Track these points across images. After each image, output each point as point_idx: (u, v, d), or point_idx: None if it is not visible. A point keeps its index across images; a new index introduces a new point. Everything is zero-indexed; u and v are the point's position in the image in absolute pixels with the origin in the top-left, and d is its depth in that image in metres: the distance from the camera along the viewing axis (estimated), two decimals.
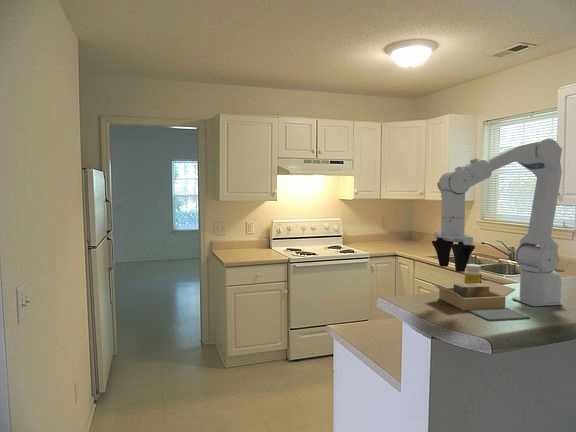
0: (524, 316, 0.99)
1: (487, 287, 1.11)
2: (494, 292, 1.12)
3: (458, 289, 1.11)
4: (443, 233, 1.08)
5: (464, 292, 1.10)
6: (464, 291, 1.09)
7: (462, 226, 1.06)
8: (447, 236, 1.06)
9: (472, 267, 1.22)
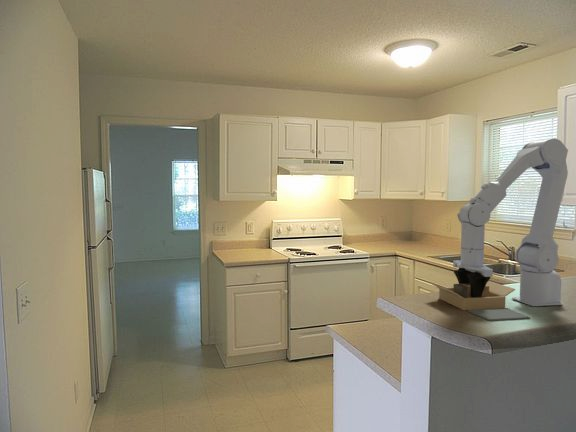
0: (524, 316, 0.99)
1: (487, 287, 1.11)
2: (494, 292, 1.12)
3: (458, 289, 1.11)
4: (463, 263, 1.11)
5: (464, 292, 1.10)
6: (464, 291, 1.09)
7: (482, 257, 1.09)
8: (467, 267, 1.09)
9: None
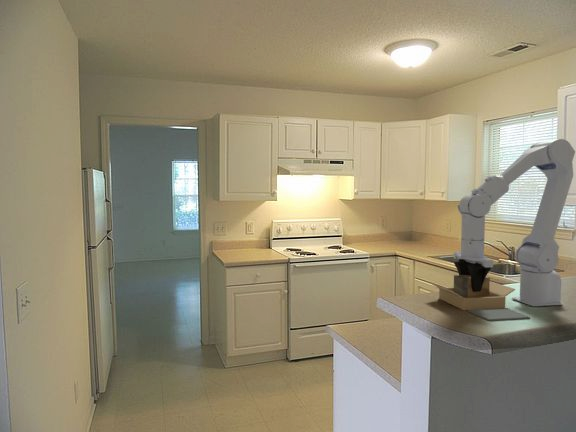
0: (524, 316, 0.99)
1: (487, 278, 1.11)
2: (494, 292, 1.12)
3: (458, 281, 1.11)
4: (463, 255, 1.11)
5: (464, 283, 1.09)
6: (464, 282, 1.09)
7: (482, 248, 1.09)
8: (467, 258, 1.09)
9: None
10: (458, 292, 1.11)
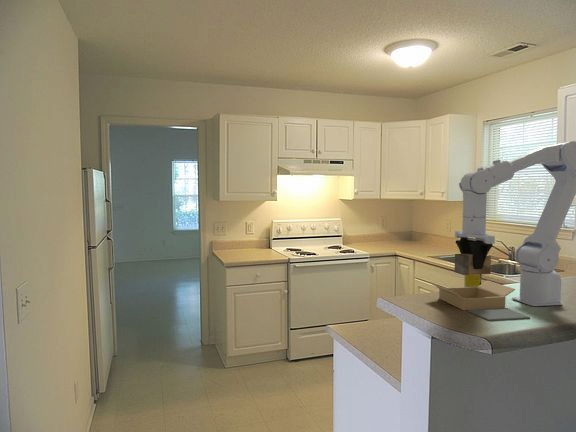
0: (524, 316, 0.99)
1: (489, 256, 1.10)
2: (494, 292, 1.12)
3: (459, 259, 1.10)
4: (464, 232, 1.10)
5: (465, 261, 1.09)
6: (465, 260, 1.09)
7: (483, 225, 1.08)
8: (469, 235, 1.09)
9: None
10: (459, 270, 1.10)
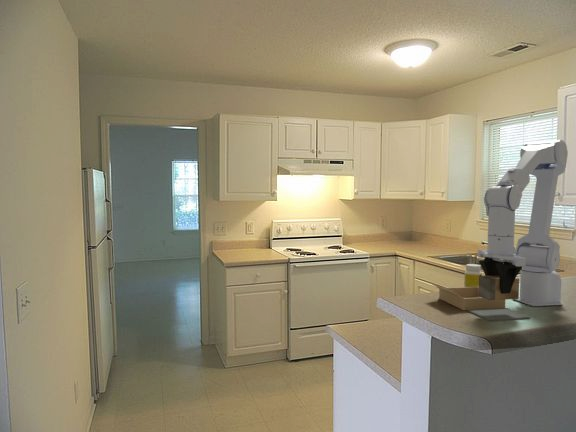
0: (524, 316, 0.99)
1: (517, 279, 1.00)
2: None
3: (484, 282, 1.00)
4: (490, 252, 1.00)
5: (492, 285, 0.98)
6: (492, 284, 0.98)
7: (512, 245, 0.98)
8: (495, 256, 0.98)
9: (472, 267, 1.22)
10: (484, 294, 1.00)
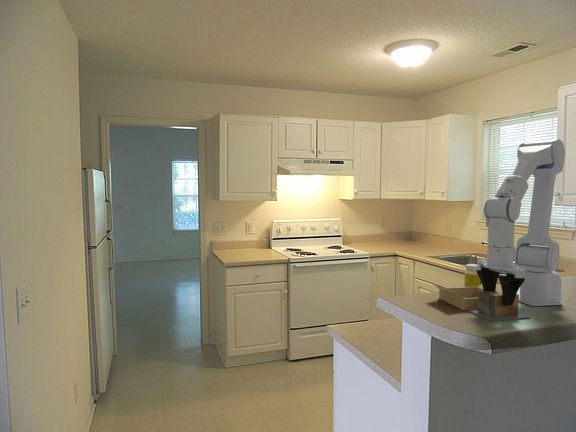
0: (524, 316, 0.99)
1: (516, 295, 1.00)
2: None
3: (484, 298, 1.00)
4: (490, 263, 1.00)
5: (491, 301, 0.99)
6: (491, 300, 0.99)
7: (511, 256, 0.98)
8: (495, 267, 0.99)
9: (472, 267, 1.22)
10: (483, 310, 1.00)
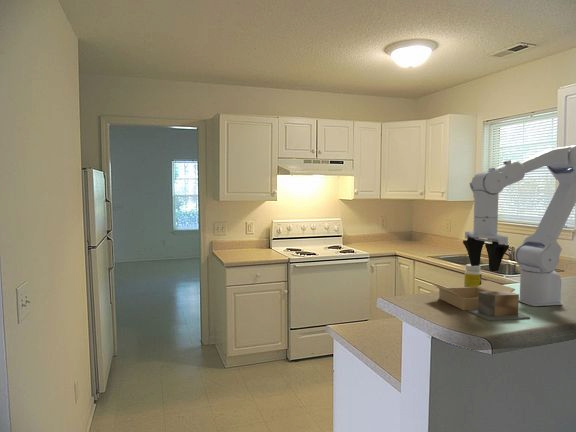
0: (524, 316, 0.99)
1: (516, 295, 1.00)
2: None
3: (484, 298, 1.00)
4: (476, 233, 1.09)
5: (491, 301, 0.99)
6: (491, 300, 0.99)
7: (495, 226, 1.07)
8: (481, 236, 1.07)
9: (472, 267, 1.22)
10: (483, 310, 1.00)
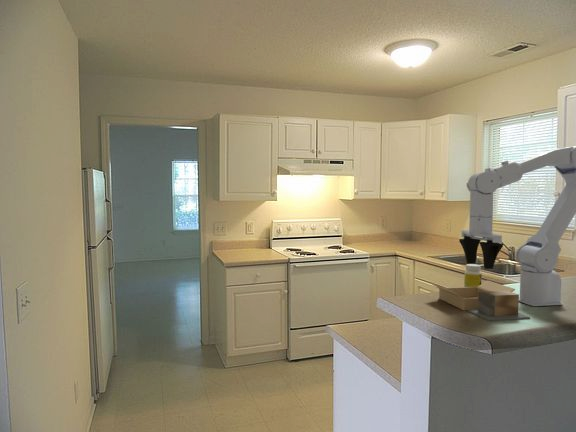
0: (524, 316, 0.99)
1: (516, 295, 1.00)
2: None
3: (484, 298, 1.00)
4: (472, 231, 1.12)
5: (491, 301, 0.99)
6: (491, 300, 0.99)
7: (490, 225, 1.10)
8: (476, 234, 1.11)
9: (472, 267, 1.22)
10: (483, 310, 1.00)
